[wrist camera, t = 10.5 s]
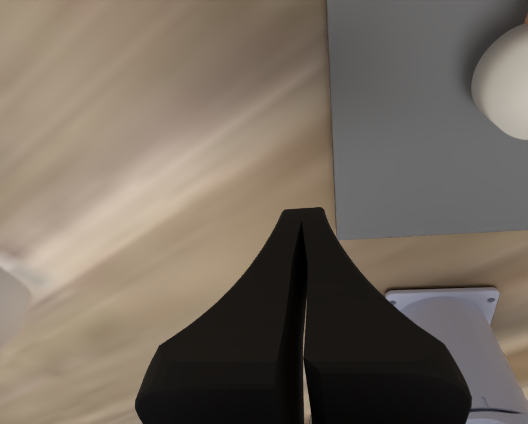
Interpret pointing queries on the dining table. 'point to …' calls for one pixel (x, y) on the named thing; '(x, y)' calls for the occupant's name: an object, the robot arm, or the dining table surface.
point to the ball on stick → (504, 82)
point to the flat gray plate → (420, 120)
